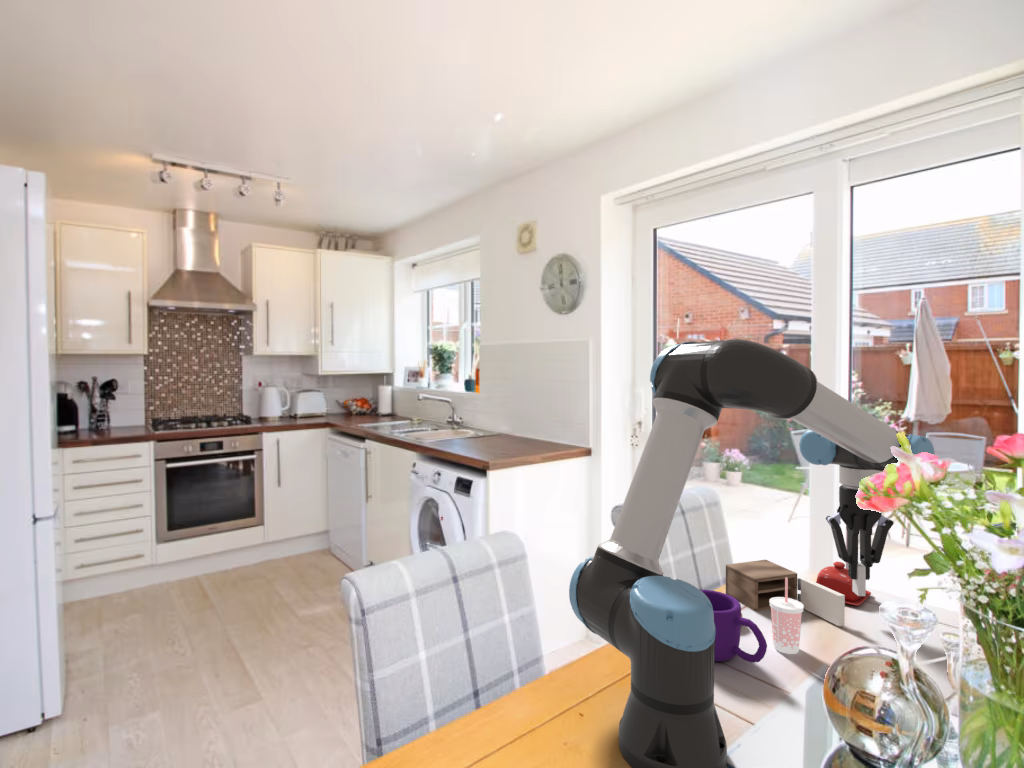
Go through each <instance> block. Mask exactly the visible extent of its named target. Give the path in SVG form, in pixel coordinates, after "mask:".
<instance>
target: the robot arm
mask: <svg viewBox="0 0 1024 768" xmlns="http://www.w3.org/2000/svg"><path fill="white" fill-rule="evenodd" d="M649 374H650V375H649V381H650V383H651V386H650V388H651V391H652V393H653V395H654V397H653V399H652V404H653V407H654V409H655V411H656V413H657V414H656V416H655V418H654V421H653V423H652V427H651V429H650V432H649V435H648V438H647V440H646V442H645V444H644V445H645V446H644V447H643V451H642V454H641V456H640V459H639V462H638V464H637V467H636V469H635V472H634V474H633V477H632V480H631V482H630V485H629V488H628V490H627V493H626V496H625V499H624V500H623V503H622V507H621V509H620V512H619V514H618V517H617V520H616V522H615V526H614V528H613V530H612V533H611V536H610V538H609V540H606V541H604V542H602V543H599V544H598V545H597V547H596V550H595V553H594V555H593V556H590V557H587V558H585V560H584V561H583V562H580V563H579V564H578V565H577V567H576V568H575V570H574V571H573V573H572V575H571V579H570V582H569V587H568V588H569V589H568V595H569V596H568V597H569V602H570V607H571V609H572V610H573V613H574V614H575V617H576V618H577V619H578V620H579V621H580V622H581V623H582V624H584V626H585V627H586V628H587V629H588V630H589V631H590V632H591V633H593V634H595V635H597V636H599V637H600V638H601V639H603V640H604V641H606V642H607V643H609V645H611V646H613V647H614V648H615V649H616V650H618V651H619V652H621V653H622V654H623V655H625V656H626V657H627V658H629V661H630V692H629V694H628V697H627V700H626V703H625V706H624V709H623V712H622V713H623V714H622V716H621V718H620V720H619V726H618V747H619V750H620V753H621V755H622V756H623V758H624V760H626V762H627V763H628V764H629V765H630V766H631V767H632V768H727V763H728V744H727V740H726V737H725V734H724V731H723V727H722V725H721V721H720V719H719V714H718V712H717V709H716V705H715V662H716V661H715V635H716V633H715V630H716V627H715V623H714V613H713V607H712V604H711V602H710V600H709V599H708V597H707V596H706V595H705V594H704V593H703V592H702V591H701V590H702V589H700V588H698V587H696V586H695V585H693V584H691V583H689V582H687V581H685V580H682V579H678V578H676V579H673V578H672V577H670V576H665V575H664V571H663V568H662V567H661V565H660V561H659V560H660V556H661V554H662V551H663V548H664V546H665V542H666V539H667V537H668V534H669V531H670V529H671V525H672V523H673V520H674V517H675V515H676V511H677V509H678V507H679V503H680V502H681V501H680V500H681V498H682V495H683V493H684V490H685V487H686V484H687V480H688V478H689V475H690V472H691V469H692V467H693V465H694V462H695V458H696V456H697V453H698V449H699V448H700V447H699V446H700V445H701V441H702V439H703V436H704V433H705V431H706V430H707V429H709V428H710V429H711V428H712V427H714V426H716V425H717V424H718V421H719V418H720V416H721V412H722V409H736V410H737V409H738V410H748V411H756V412H762V413H765V414H768V415H770V416H772V417H774V418H776V419H778V420H792V421H794V422H795V423H797V424H798V425H801V426H803V427H804V428H807V429H808V430H807V431H805V432H803V434H802V435H801V436H800V439H799V444H798V445H799V451H800V454H801V456H802V458H804V460H805V461H807V462H808V463H810V464H812V465H816V466H828V465H837V466H838V470H839V473H838V474H839V477H838V478H839V479H838V480H839V481H838V482H839V483H840V484H841V485H840V486H839V487H838V488H839V489H838V490H839V491H838V498H839V499H838V502H839V505H838V508H837V509H836V513H834V514H833V515H832V516H830V515H827V516H826V517H825V520H826V522H827V523H828V524H829V526H830V528H831V533H832V536H833V540H834V544H835V548H836V553H837V556H838V558H839V559H841V560H842V561H843V563H844V562H845V563H847V569H848V575H849V577H850V578H851V579H852V591H853V592H854V593H855V594H856V595H858V596H866V590H867V589H866V586H867V585H866V581H869V580H870V579H871V568H872V567H873V566H874V565H873V564H879V563H880V562H881V560H882V556H883V552H884V550H885V549H884V548H885V544H886V540H887V538H888V533H889V531H890V529H891V528H892V527H893V525H894V523H895V522H894V521H893V520H892V519H890V518H888V517H886V516H884V515H883V514H882V512H881V513H879V512H876V511H871V510H863V509H860V508H859V507H858V506H857V504H856V498H855V495H856V493H857V491H858V488H859V482H860V481H861V479H863V478H865V477H868V476H870V475H872V474H875V473H879V472H880V473H881V472H883V470H884V468H885V466H886V465H887V464H891V463H897V462H898V460H897V458H895V457H894V456H893V455H892V453H891V449H890V447H891V446H896V447H901V445H900V444H899V442H898V440H897V437H896V434H897V433H898V432H899V431H898V430H896V429H894V428H893V427H891V426H889V425H888V424H887V423H884V422H883V421H881V420H880V419H879V418H878V417H877V416H874V415H872V414H871V413H869V412H868V411H865V410H864V409H862V408H861V407H859V406H858V405H856V404H854V403H853V402H851V401H850V400H848V399H846V398H845V397H843V396H841V395H840V394H838V393H836V392H835V391H833V390H832V389H830V388H828V387H827V386H826V385H824V384H822V383H821V382H819V381H818V377H817V375H816V374H815V373H814V371H813V370H812V369H810V368H809V367H808V366H806V365H804V364H802V363H801V362H800V361H798V360H796V359H794V357H793V358H792V357H791V356H789V355H788V354H785V353H783V352H781V351H778V350H777V349H774V348H772V347H770V346H768V345H765V344H762V343H759V342H756V341H752V340H748V339H741V338H733V339H732V338H731V339H724V340H723V339H722V340H721V339H720V340H709V341H695V340H694V341H692V340H691V341H684V342H681V343H678V344H677V343H676V344H673V345H670V346H668V347H666V348H665V349H663V350H662V351H661V352H660V353H659V354H658V355H657V357H656V358H655V359H654V362H653V364H652V366H651V369H650V373H649ZM904 434H905V433H904ZM905 436H906V437H907V439H908V440H909V442H910V444H911V450H912V453H913V454H918V453H921V452H928V453H931V454H934V455H935V454H936V453H935V448H934V444H933V443H932V441H931V440H930V439H929V438H928V437H926V436H923V435H917V434H914V433H908V434H907V433H906V434H905ZM841 520H842V522H843V523H844V524H845V525H846V527H845V529H846V532H847V533H846V535H847V536H846V539H847V541H845V537H844V534H843V530H842V528H841V526H840V525H841ZM876 523H877V526H876V528H875V531H874V536H873V528H874V526H875V525H876ZM872 536H873V539H872ZM846 542H847V543H846Z"/></svg>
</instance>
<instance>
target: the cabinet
mask: <svg viewBox="0 0 1024 768" xmlns="http://www.w3.org/2000/svg"><path fill="white" fill-rule="evenodd" d="M785 577H787V578H788V598H791V599H794V600H797V598H798V573H797V572H796V571H793V570H790V569H788V568H786V567H784V566H782V565H780V564H776V563H774V562H772V561H771V560H768V559H761V560H751V561H743V562H737V563H736V562H735V563H730V564H729V563H728V564H727V563H726V564H725V594H727V595H730V596H732V597H734V598H735V599H737V600H738V601H739V603H740V604H741V605H743V606H745V607H747V609H750V610H752V611H753V612H755V611H756V612H760V611H768V610H771V606H770V603H769V600H770V599H771V598H773V597H785Z"/></svg>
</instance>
